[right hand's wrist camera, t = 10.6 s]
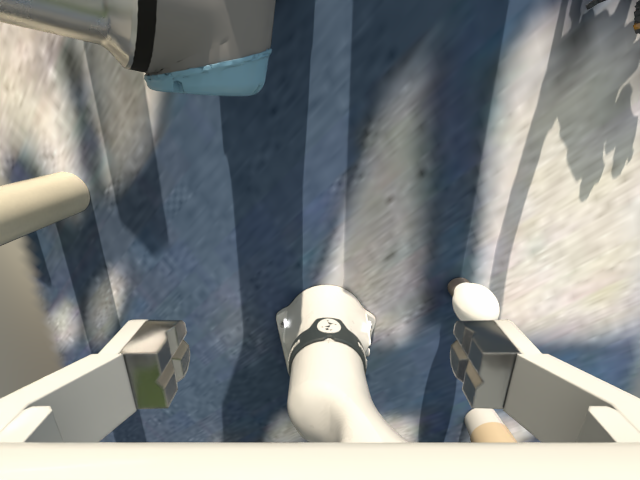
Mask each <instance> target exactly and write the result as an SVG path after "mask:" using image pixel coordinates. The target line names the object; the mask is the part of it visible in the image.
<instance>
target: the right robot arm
mask: <svg viewBox="0 0 640 480" xmlns="http://www.w3.org/2000/svg"><path fill="white" fill-rule="evenodd" d="M276 322H277V326H278V330H279V334H280V339H281V343H282V347H283V352H284V356H285V360H286V365H287V369H288V373H289V376H290V383H289V392H288V401H287V409H288V414H289V417H290V420H291V422H292V424H293V425H294V427H295V428H296V430H297V431H298V433H299V434H300V435H301V436H302V437H303V438H304V439H305V440H306V441H308V442H309V443H305V442H190V443H108V442H99V441H100V440H102V439H103V438H104V437H105V436H107V435H108V434H109V433H110V432H111V431H113V430H114V429H115V428H116V427H117V426H119V425H120V424H121V423H122V422H124V421H125V420H126V419H127V418H128V417H130V416H131V415H132V414H133V413H134V412H136V411H137V410H136V409H155V408H168V407H169V405H170V403H171V402H172V400H173V398H174V396H175V394H176V392H177V390H178V388H177V382H178V381H180V380H181V379H183V378H184V376H185V374H186V372H187V370H188V366H189V362H190V349H189V345H188V344H187V343H186V342H185V341H184V340H183V338H184V337H185V335H186V333H187V331H186V326H185V323H184V322H183V321H182V320H130V321H128V322H127V323H126V324H125V325H124V326H123V327H122V329H121V330H120V331H119V332H118V333H117V334H116V335H115V336H114V337H113V338H112V339H111V340H110V341H109V343H108V344H107V345H106V346H105V347H104V348H103V349H102V350H101V351H100V352H99V353H98V354H91V355H89V356H87V357H85V358H83V359H81V360H79V361H77V362H75V363H73V364H71V365H69V366H66V367H64V368H62V369H60V370H58V371H56V372H54V373H52V374H50V375H48V376H46V377H44V378H42V379H40V380H38V381H35V382H33V383H31V384H29V385H27V386H25V387H23V388H21V389H19V390H17V391H15V392H13V393H11V394H9V395H7V396H4V397H2V398H0V480H640V399H639V398H637V397H635V396H633V395H631V394H629V393H627V392H625V391H623V390H621V389H619V388H617V387H615V386H613V385H611V384H609V383H606V382H604V381H602V380H600V379H598V378H596V377H594V376H592V375H590V374H588V373H586V372H584V371H582V370H580V369H578V368H576V367H573V366H571V365H569V364H567V363H565V362H563V361H561V360H559V359H557V358H555V357H553V356H551V355H549V354H542V353H541V352H540V351H539V350H538V349H537V348H536V347H535V346H534V345H533V344H532V343H531V341H530V340H529V339H528V338H527V337H526V336H525V335H524V334H523V333H522V332H521V331H520V330H519V329H518V327H517V326H516V325H515V324H514V323H513V322H512V321H510V320H508V319H504V320H476V321H456V323H455V325H454V331H453V333H454V335H455V337H456V338H457V340H456V341H455V342H454V343H453V344H452V345H451V350H450V361H451V366H452V370H453V372H454V374H455V376H456V378H457V379H459V380H460V381H462V382H463V388H462V390H463V392H464V394H465V396H466V398H467V400H468V401H469V403H470V405H471V407H472V408H484V409H504V410H503V411H505V412H506V413H507V414H508V415H509V416H511V417H512V418H513V419H514V420H515V421H517V422H518V423H519V424H520V425H521V426H523V427H524V428H525V429H526V430H528V431H529V432H530V433H531V434H532V435H534V436H535V437H536V438H537V439H538V440H540V441H541V442H542V443H410V442H408V441H407V440H406V439H404V438H403V437H402V436H401V435H400V434H398V433H397V432H396V431H395V430H394V429H393V428H392V427H391V426H390V425H389V424H388V423H387V422H386V421H385V420H384V418H383V417H382V416H381V415H380V413H379V412H378V411H377V409H376V408H375V406H374V404H373V402H372V399H371V396H370V393H369V389H368V385H367V382H366V377H365V374H366V368H367V360H366V356H369V354H370V349H369V348H368V346H370V345H371V339H370V338H371V335H372V332H373V329H374V326H375V323H376V319H375V316H374V315H373V314H371V313H370V312H368V311H367V310H365V309H364V308H363V307H362V305H361V304H360V302H359V300H358V299H357V298H356V297H355V296H354V295H353V294H352V293H350V292H349V291H347V290H345V289H343V288H341V287H337V286H333V285H320V286H315V287H311V288H309V289H307V290H305V291H303V292H302V293H300V294H299V295H298V296H297V297H296V298H295V299H294V300H293V302H292V303H291V304H290V305H289V306H288V307H286V308H284V309H282V310H280V311H279V312H278V313H277V314H276ZM282 322H284V323H282Z"/></svg>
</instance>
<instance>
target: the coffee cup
mask: <svg viewBox="0 0 640 480" xmlns="http://www.w3.org/2000/svg"><path fill="white" fill-rule="evenodd" d="M464 421H465V425H466V427H467V430H468V433H469V435H470V440H471V443H517V441H516V440H515V438H514V437H513V436H512V434H511V433H510V431H509V430H508V428H507V427H506V426H505V425H504V424H503V422H502V421H501V419H500V418H499V416H498V415H497V414H496V412H495V411H494V410H493V409H484V408H475V409H473V410H471V411H470V412H468V413H467V415H466V416H465V420H464Z"/></svg>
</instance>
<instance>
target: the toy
mask: <svg viewBox="0 0 640 480" xmlns="http://www.w3.org/2000/svg"><path fill="white" fill-rule="evenodd" d="M603 1H606V0H593V1H592V2H590V3H589V4H587V5H586V7H587V10H588V9H590V8H592V7H593V6H595V5H597V4H598V3H601V2H603ZM635 7H636V11H635V12H634V16H635V18H634V19H635V23H634V24H635V25H633V27H634V30H635V33H636V34H637V33H639V34H640V0H639V1H638V2H636V6H635Z"/></svg>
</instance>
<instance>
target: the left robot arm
mask: <svg viewBox="0 0 640 480" xmlns="http://www.w3.org/2000/svg"><path fill="white" fill-rule="evenodd" d="M275 1H276V0H0V22H3V23H8V24H12V25H17V26H21V27H25V28H30V29H34V30H39V31H43V32H47V33H52V34H56V35H61V36H65V37H69V38H74V39H78V40H83V41H87V42H91V43H96V44H100V45H102V46H103V47H105V48H106V49H107V50H109V51H110V53H111V54H112V55H113V56H114V57H115V58H116V59H117V60H118V62H119V63H120V64H121V65H122V66H123V67H124V68H126V69H131V70H136V71H141V72H145V73H146V74H145V75H144V79H145V81H146V82H147V86H148V87H149V88H150V89H152V90H155V91H162V92H178V93H187V94H198V95H216V96H250V95H254V94H256V93H258V92H259V91H260V90H261V89H262V88H263V86H264V83H265V79H266V72H267V66H268V60H269V55H270V54H271V53H272V48H271V39H272V29H273V20H274V10H275Z"/></svg>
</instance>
